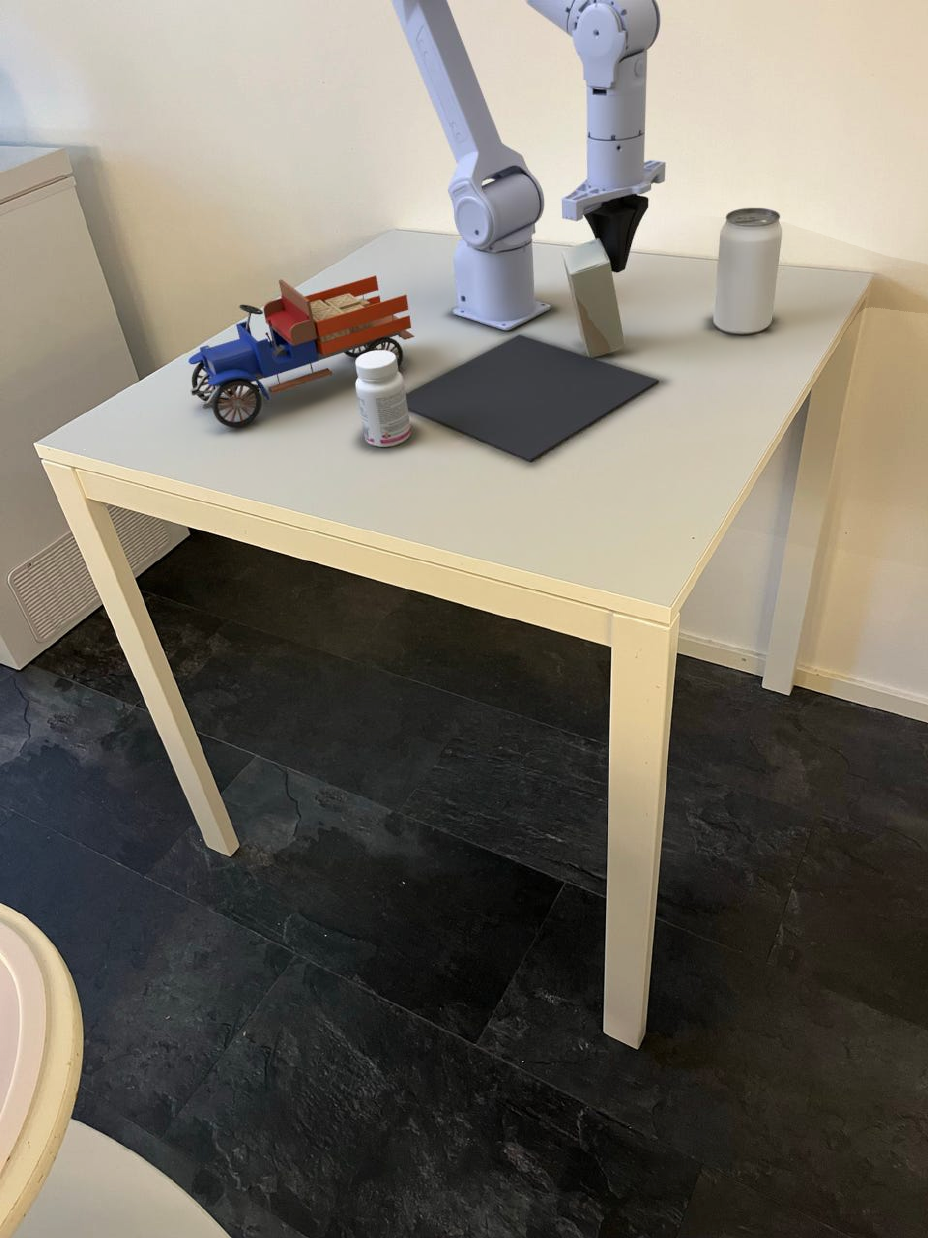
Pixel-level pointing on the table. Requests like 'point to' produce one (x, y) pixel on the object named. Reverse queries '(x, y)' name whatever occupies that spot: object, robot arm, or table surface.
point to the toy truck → (296, 343)
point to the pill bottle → (382, 399)
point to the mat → (526, 396)
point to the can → (747, 270)
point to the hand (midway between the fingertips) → (614, 269)
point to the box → (594, 297)
